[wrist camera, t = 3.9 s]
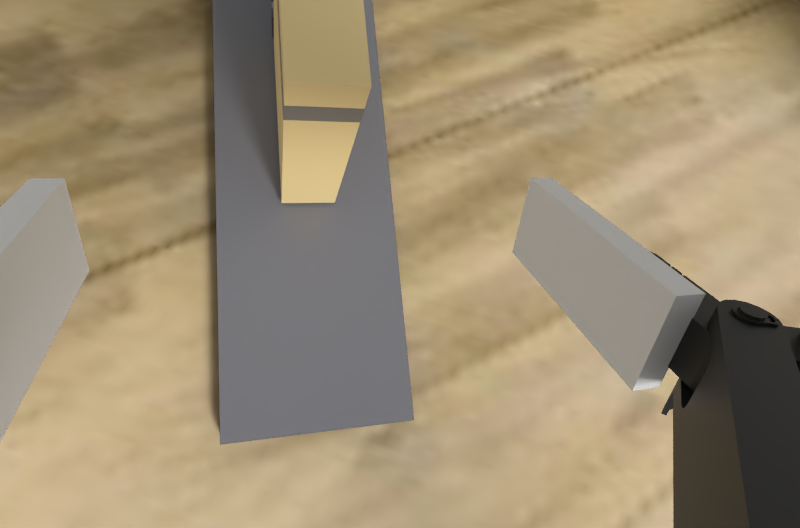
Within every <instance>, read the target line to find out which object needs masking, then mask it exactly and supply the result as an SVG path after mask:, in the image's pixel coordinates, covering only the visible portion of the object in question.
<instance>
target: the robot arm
mask: <svg viewBox="0 0 800 528" xmlns="http://www.w3.org/2000/svg"><path fill="white" fill-rule="evenodd" d="M513 253H514V255H515V256H516V257H517V258H518V259H519V260H520V261H521V263H522V264H523V265H524V266H525V267H526V268H527V270H528V271H529V272H530V273H531V274H532V275H533V277H534V278H535V279H536V280H537V281H538V282H539V283H540V285H541V286H542V287H543V288H544V289H545V290H546V292H547V293H548V294H549V295H550V296H551V297H552V298H553V300H554V301H555V302H556V303H557V304H558V305H559V307H560V308H561V309H562V310H563V311H564V312H565V313H566V315H567V316H568V317H569V318H570V319H571V320H572V322H573V323H574V324H575V325H576V326H577V327H578V329H579V330H580V331H581V332H582V333H583V334H584V335H585V337H586V338H587V339H588V340H589V341H590V342H591V344H592V345H593V346H594V347H595V348H596V349H597V350H598V352H599V353H600V354H601V355H602V356H603V357H604V359H605V360H606V361H607V362H608V363H609V364H610V366H611V367H612V368H613V369H614V370H615V371H616V372H617V374H618V375H619V376H620V377H621V378H622V379H623V381H624V382H625V383H626V384H627V385H628V386H629V387H630V389H631V390H632V391H634V390H641V389H649V388H656V387H659V386H660V384H661V382H662V380H663V378H664V376H665V374H666V372H667V370H668V368H670V369H671V370H672V371H673V372H674V373H675V374H676V375H677V376H678V377H679V379H678V381H677V383H676V385H675V387H674V389H673V391H672V393H671V395H670V396H669V398H668V400H667V402H666V404H665V406H664V408H663V410H662V414H664V415H667V413H668V411H669V410H670V409H673V488H674V528H800V328H794V327H787V326H783V325H782V323H781V322H780V320H779V319H777V318H776V317H775V316H774V315H772V314H771V313H769V312H767V311H766V310H764V309H762V308H760V307H758V306H755V305H752V304H749V303H747V302H742V301H737V300H723V301H721V302H719V301H718V300H717V299H715V298H714V297H713V296H711V295H710V294H709V293H707V292H706V291H705V290H703V289H702V288H701V287H699V286H698V285H697V284H695V283H694V282H693V281H691V280H690V279H689V278H687V277H686V276H682V273H681V272H679V271H678V270H677V269H675V268H674V267H671V266H670V264H669V263H667V262H666V261H665V260H663V259H662V258H661V257H659V256H658V255H657V254H654V253H652V252H650V251H648V250H647V249H646V248H644V247H643V246H642V245H640V244H639V243H638V242H636V241H635V240H634V239H632V238H631V237H630V236H628V235H627V234H626V233H624V232H623V231H622V230H620V229H619V228H618V227H617V226H615V225H614V224H613V223H611V222H610V221H609V220H607V219H606V218H605V217H603V216H602V215H601V214H599V213H598V212H597V211H595V210H594V209H593V208H591V207H590V206H589V205H587V204H586V203H585V202H583V201H582V200H581V199H579V198H578V197H577V196H575V195H574V194H573V193H571V192H570V191H569V190H567V189H566V188H565V187H563V186H562V185H561V184H559V183H558V182H557V181H555V180H554V179H553V178H531V179H530V183H529V187H528V191H527V196H526V200H525V204H524V208H523V212H522V216H521V220H520V224H519V228H518V232H517V236H516V240H515V245H514V249H513ZM88 273H89V268H88V264H87V260H86V257H85V253H84V249H83V245H82V242H81V238H80V234H79V231H78V227H77V223H76V219H75V216H74V212H73V208H72V205H71V201H70V197H69V193H68V190H67V186H66V182H65V178H29V179H28V180H27V181H26V182H25V183H24V184H23V185H22V186H21V187H20V188H19V189H18V190H17V191H16V192H15V193H14V194H13V195H12V196H11V197H10V198H9V199H8V200H7V201H6V202H5V203H4V204H3V205H2V206H1V207H0V442H1V440H2V438H3V436H4V434H5V432H6V430H7V428H8V426H9V424H10V422H11V420H12V419H13V417H14V415H15V413H16V411H17V409H18V407H19V405H20V403H21V401H22V399H23V397H24V396H25V394H26V392H27V390H28V388H29V386H30V384H31V382H32V380H33V378H34V376H35V374H36V372H37V371H38V369H39V367H40V365H41V363H42V361H43V359H44V357H45V355H46V353H47V351H48V349H49V347H50V346H51V344H52V342H53V340H54V338H55V336H56V334H57V332H58V330H59V328H60V326H61V324H62V323H63V321H64V319H65V317H66V315H67V313H68V311H69V309H70V307H71V305H72V303H73V301H74V299H75V298H76V296H77V294H78V292H79V290H80V288H81V286H82V284H83V282H84V280H85V278H86V276H87V274H88Z"/></svg>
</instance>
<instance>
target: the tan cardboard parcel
mask: <svg viewBox="0 0 800 528" xmlns="http://www.w3.org/2000/svg"><path fill="white" fill-rule="evenodd" d="M274 59H275V80H276V101H277V121H278V142H279V163H280V184H281V203H335V200H336V197H337V194H338V191H339V188H340V185H341V181H342V178H343V175H344V172H345V169H346V166H347V162H348V159H349V156H350V153H351V150H352V147H353V144H354V140H355V137H356V134H357V131H358V128H359V125H360V122H361V120H362V117H363V114H364V111H365V106H366V102H367V99H368V96H369V93H370V90H371V87H372V85H371V74H370V64H369V53H368V43H367V32H366V22H365V11H364V1H363V0H274Z"/></svg>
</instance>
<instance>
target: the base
mask: <svg viewBox="0 0 800 528" xmlns="http://www.w3.org/2000/svg"><path fill="white" fill-rule="evenodd" d="M363 1H364V11H365V22H366V32H367V43H368V53H369V64H370V74H371V85H372V87H371V90H370V93H369V96H368V99H367V102H366V106H365V111H364V114H363V117H362V120H361V122H360V125H359V128H358V131H357V134H356V137H355V140H354V144H353V147H352V150H351V153H350V156H349V159H348V162H347V166H346V169H345V172H344V175H343V178H342V181H341V185H340V188H339V191H338V194H337V197H336V200H335V203H281V184H280V163H279V142H278V121H277V101H276V80H275V59H274V41H273V38H272V28H271V8H272V1H271V0H212V6H213V63H214V120H215V177H216V234H217V291H218V348H219V405H220V445H221V444H229V443H236V442H244V441H252V440H260V439H268V438H276V437H284V436H292V435H300V434H308V433H316V432H324V431H332V430H339V429H347V428H355V427H363V426H371V425H379V424H387V423H395V422H403V421H411V420H414V415H413V405H412V395H411V385H410V375H409V365H408V355H407V345H406V335H405V325H404V315H403V305H402V295H401V285H400V275H399V265H398V255H397V245H396V235H395V225H394V215H393V205H392V195H391V184H390V174H389V164H388V154H387V144H386V134H385V124H384V114H383V104H382V94H381V84H380V74H379V64H378V54H377V44H376V34H375V24H374V14H373V4H372V0H363Z"/></svg>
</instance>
